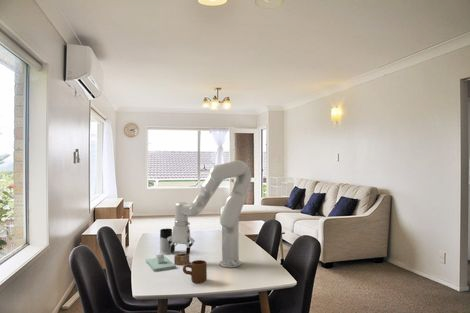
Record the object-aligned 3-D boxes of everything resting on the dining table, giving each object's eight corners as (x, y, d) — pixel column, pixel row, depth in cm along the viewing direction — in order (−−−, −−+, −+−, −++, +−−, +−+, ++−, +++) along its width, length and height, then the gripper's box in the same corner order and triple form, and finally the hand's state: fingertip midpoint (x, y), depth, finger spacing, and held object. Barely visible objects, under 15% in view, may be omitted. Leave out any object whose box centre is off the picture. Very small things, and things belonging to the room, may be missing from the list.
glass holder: (165, 250, 234) (164, 227, 234) (182, 252, 227) (182, 229, 228) (156, 253, 226) (156, 230, 226) (174, 256, 220) (174, 232, 220)
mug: (184, 286, 168) (184, 266, 168) (181, 280, 175) (180, 262, 175) (208, 282, 173) (208, 263, 173) (204, 277, 180) (204, 259, 180)
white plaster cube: (164, 262, 201) (164, 255, 201) (157, 263, 199) (157, 256, 199) (162, 261, 204) (162, 254, 204) (156, 262, 202) (156, 255, 202)
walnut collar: (189, 262, 206) (189, 253, 206) (184, 265, 200) (184, 256, 200) (179, 261, 208) (179, 253, 208) (174, 264, 202) (174, 255, 202)
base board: (175, 268, 195) (175, 265, 195) (154, 271, 190) (154, 268, 190) (165, 259, 213) (165, 256, 213) (145, 262, 208) (145, 259, 208)
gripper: (197, 223, 205) (196, 253, 205) (171, 221, 211) (170, 250, 211) (192, 226, 198) (191, 256, 198) (164, 223, 204) (163, 253, 204)
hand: (180, 253), depth 204 cm, fingers open, 9 cm apart
